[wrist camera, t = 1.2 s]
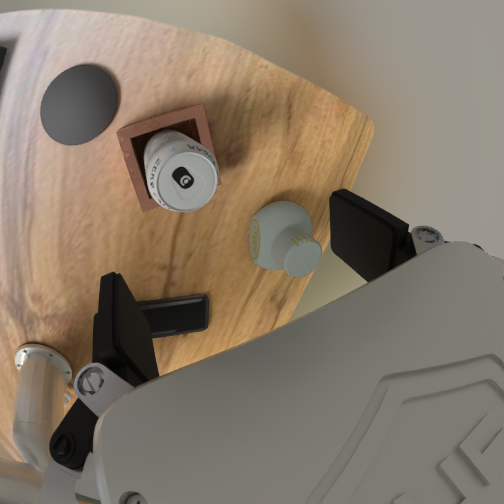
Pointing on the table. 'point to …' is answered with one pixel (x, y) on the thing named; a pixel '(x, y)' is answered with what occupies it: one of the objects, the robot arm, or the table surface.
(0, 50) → the disk drive
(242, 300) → the table surface
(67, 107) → the mat
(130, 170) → the collar
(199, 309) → the phone
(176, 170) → the energy drink can
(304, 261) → the air freshener
